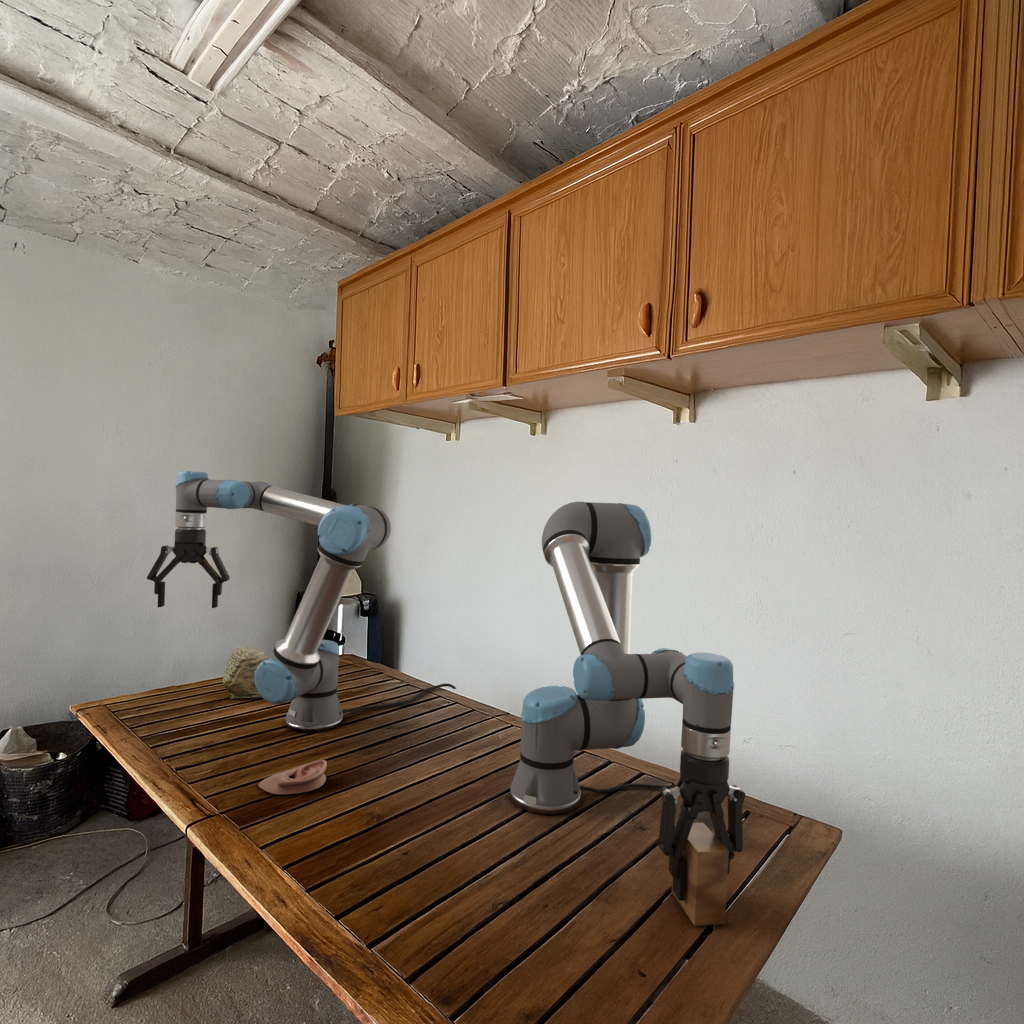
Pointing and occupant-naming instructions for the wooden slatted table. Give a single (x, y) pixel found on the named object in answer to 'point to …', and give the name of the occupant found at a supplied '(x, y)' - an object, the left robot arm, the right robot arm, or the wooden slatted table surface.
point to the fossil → (243, 672)
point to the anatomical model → (296, 779)
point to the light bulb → (705, 819)
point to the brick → (704, 877)
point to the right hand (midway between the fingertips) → (697, 893)
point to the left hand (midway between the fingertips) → (188, 607)
